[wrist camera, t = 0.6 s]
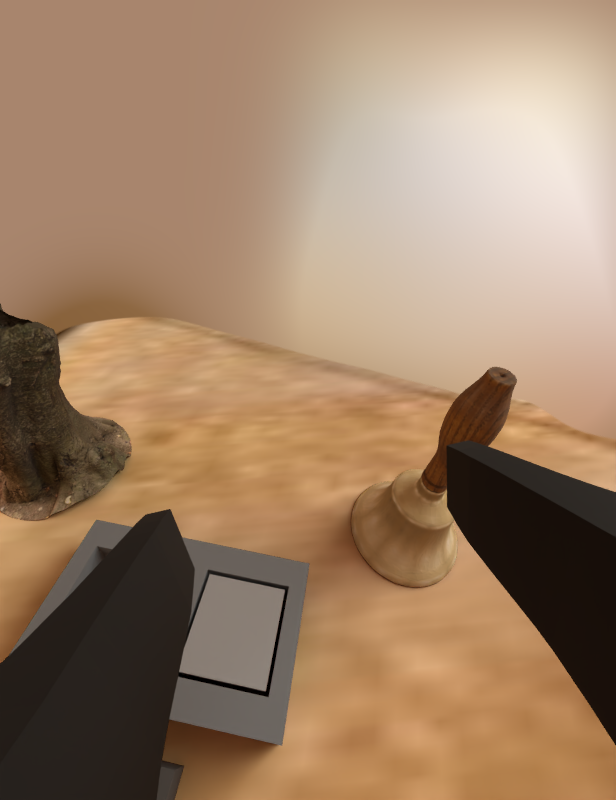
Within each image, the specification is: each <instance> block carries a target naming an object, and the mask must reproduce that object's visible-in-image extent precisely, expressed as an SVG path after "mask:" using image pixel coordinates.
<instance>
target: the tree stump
mask: <svg viewBox="0 0 616 800" xmlns="http://www.w3.org/2000/svg"><path fill="white" fill-rule="evenodd" d="M60 364H61V362H60V355H59V346H58V339H57V335H56V334H55V332H54V330H53V329H52V328H49V327H47V326H45V325H43V324H41V323H38V322H31V321H29V320H24V319H19V318H16V317H14V316H11V315H8V314H7V313H5V312H3V310H2V308H1V304H0V511H1V512H2V513H4V514H6V515H7V516H10V517H12V518H16V519H20V520H40V519H45V518H48V517H50V515H52V514H54V513H57V512H60V511H62V510H65V509H66V508H68V507H70V506H71V505H73V504H74V503H76V502H79V501H82V500H85V499H87V498H88V497H90V496H92V495H94V494H95V493H97V492H98V491H100V490H101V489H102V488H103V487H104V486H105V485H107V484H108V482H109V481H110V480H111V479H112V477H113V476H114V474H115V473H116V471H118V470H123V469H124V463H125V459H126V457H127V456H129V457H130V455H131V441H130V438H129V436H128V434H127V432H126V431H125V430H124V429H123V428H122V427H121V426H120V425H118V424H117V423H115V422H114V421H113V420H108V419H105V418H100V417H89V416H85V415H82V414H80V413H79V412H78V411H77V410H75V409H74V408H73V407H72V406H71V405H70V403H69V401H68V400H67V399H66V397H65V395H64V393H63V391H62V389H61V387H60V385H59V379H60V373H61V369H60Z"/></svg>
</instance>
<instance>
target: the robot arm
mask: <svg viewBox="0 0 616 800" xmlns="http://www.w3.org/2000/svg"><path fill="white" fill-rule="evenodd" d="M446 454H447V508H448V510H449V511H450V513H451V515H452V516H453V518H454V520H455V522H456V523H457V525H458V527H459V528H460V530H461V531H462V533H463V534H464V536H465V538H466V539H467V541H468V542H469V543H470V545H471V546H472V547H473V549H474V550H475V551H476V553H477V554H478V555H479V556H480V558H481V559H482V560H483V561H484V563H485V564H486V565H487V567H488V568H489V569H490V570H491V572H492V573H493V574H494V575H495V577H496V578H497V579H498V580H499V582H500V583H501V584H502V585H503V587H504V588H505V589H506V590H507V592H508V593H509V594H510V595H511V597H512V598H513V599H514V600H515V602H516V603H517V604H518V605H519V607H520V608H521V609H522V611H523V612H524V613H525V614H526V616H527V617H528V618H529V619H530V621H531V622H532V623H533V624H534V626H535V627H536V628H537V630H538V631H539V632H540V634H541V635H542V636H543V638H544V639H545V640H546V642H547V643H548V644H549V646H550V647H551V648H552V650H553V651H554V653H555V654H556V656H557V657H558V659H559V660H560V662H561V663H562V664H563V666H564V667H565V669H566V670H567V672H568V673H569V675H570V676H571V678H572V679H573V681H574V682H575V684H576V685H577V687H578V688H579V690H580V691H581V693H582V694H583V696H584V697H585V699H586V700H587V702H588V703H589V705H590V706H591V708H592V709H593V711H594V712H595V714H596V715H597V717H598V719H599V720H600V722H601V723H602V725H603V726H604V728H605V729H606V731H607V732H608V734H609V736H610V737H611V739H612V740H613V742H614V743H615V745H616V492H613V491H610V490H607V489H604V488H601V487H598V486H595V485H592V484H589V483H586V482H583V481H580V480H577V479H574V478H572V477H569V476H566V475H563V474H560V473H558V472H555V471H552V470H549V469H547V468H544V467H541V466H539V465H536V464H533V463H531V462H528V461H525V460H523V459H520V458H517V457H515V456H512V455H510V454H507V453H504V452H502V451H499V450H496V449H493V448H491V447H488V446H485V445H482V444H479V443H476V442H473V441H469V440H467V441H463V442H459V443H454V444H450V445H446ZM194 575H195V568H194V565H193V563H192V560H191V558H190V556H189V553H188V551H187V548H186V546H185V544H184V541H183V539H182V536H181V534H180V531H179V529H178V527H177V524H176V522H175V519H174V517H173V515H172V512H171V510H170V509H168V510H164V511H160V512H155V513H151V514H147V515H145V516H144V517H143V518H142V519H141V520H139V521H138V522H137V523H136V524H135V526H134V527H133V528H132V529H131V530H130V531H129V532H128V533H127V534H126V535H125V536H124V537H123V538H122V539H121V540H120V541H119V543H118V544H117V545H116V546H115V547H114V548H113V549H112V550H111V551H110V552H109V553H108V554H107V556H106V557H105V558H104V559H103V560H102V561H101V562H100V563H99V564H98V565H97V566H96V567H95V568H94V570H93V571H92V572H91V573H90V574H89V575H88V576H87V577H86V578H85V579H84V580H83V581H82V582H81V583H80V584H79V586H78V587H77V588H76V589H75V590H74V591H73V592H72V593H71V594H70V595H69V596H68V597H67V598H66V599H65V600H64V601H63V602H62V603H61V604H60V605H59V606H58V607H57V608H56V609H55V610H54V611H53V612H52V613H51V614H50V615H49V616H48V617H47V618H46V619H45V620H44V621H43V622H42V623H41V624H40V625H39V626H38V627H37V628H36V629H35V630H34V631H33V632H32V633H31V634H30V635H29V636H28V637H27V638H26V639H25V640H24V641H23V642H22V643H21V644H20V645H19V646H18V647H17V648H16V649H15V650H14V651H13V652H12V653H11V654H10V655H9V656H8V657H7V658H6V659H5V660H4V661H3V662H2V663H1V664H0V800H157V793H158V785H159V777H160V770H161V762H162V756H163V750H164V744H165V739H166V733H167V728H168V723H169V718H170V713H171V708H172V704H173V699H174V694H175V689H176V684H177V680H178V675H179V670H180V665H181V661H182V656H183V651H184V646H185V641H186V636H187V631H188V626H189V621H190V616H191V610H192V599H193V588H194Z"/></svg>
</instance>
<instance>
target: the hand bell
mask: <svg viewBox="0 0 616 800" xmlns="http://www.w3.org/2000/svg"><path fill="white" fill-rule="evenodd" d="M516 382H517V379H516V377H515V375H513V374H512V373H511V372H510V371H508V370H506V369H503V368H500V367H492V368H490V369H489V370H487V372H486V373H485V374H484V375H483V376H482V377H481V378H480V379H479V380H477V381H476V382H475V383H474V384H472V385H471V386H470V387H468V388H467V389H466V390H465V391H464V392H463V393H461V394H460V395H459V396H458V398H457V399H456V400H455V401H454V402H453V404H452V406H451V407H450V409H449V411H448V412H447V414H446V416H445V418H444V421H443V424H442V427H441V430H440V435H439V444H438V449H437V452H436V454H435V455H434V457H433V458H432V460H431V461H430V463H429V464H428V465H427V467H426V469H425V470H421V469H412V470H407V471H405V472H403V473H401V474H400V475H398V476H397V477H396V479H395V480H394V481H387V482H381V483H378V484H375V485H373V486H371V487H369V488H368V489H366V490H365V491H364V492H363V493H362V494H361V495H360V496H359V498H358V499H357V501H356V502H355V504H354V508H353V511H352V516H351V528H352V534H353V538H354V541H355V543H356V546H357V548H358V550H359V552H360V553H361V555H362V556H363V558H364V559H365V560H366V561H367V563H368V564H369V565H370V566H371V567H372V568H373V569H374V570H375V571H377V572H378V573H379V574H380V575H382V576H383V577H385V578H387V579H389V580H390V581H392V582H394V583H397V584H400V585H404V586H410V587H425V586H429V585H432V584H435V583H437V582H439V581H440V580H442V579H443V578H444V577H445V576H446V575H447V574H448V573H449V572H450V570H451V569H452V567H453V565H454V563H455V560H456V556H457V550H458V545H457V535H456V531H455V527H454V525H453V521H454V518H453V516H452V515H451V513H450V511H449V510H448V508H447V454H446V445H450V444H454V443H459V442H463V441H467V440H469V441H473V442H476V443H479V444H482V445H485V446H489V445H490V443H491V442H492V441H493V440H494V439H495V438H496V436H497V435H498V433H499V432H500V431H501V429H502V427H503V426H504V423H505V421H506V419H507V415H508V412H509V408H510V402H511V397H512V392H513V389H514V386H515V385H516Z"/></svg>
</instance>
